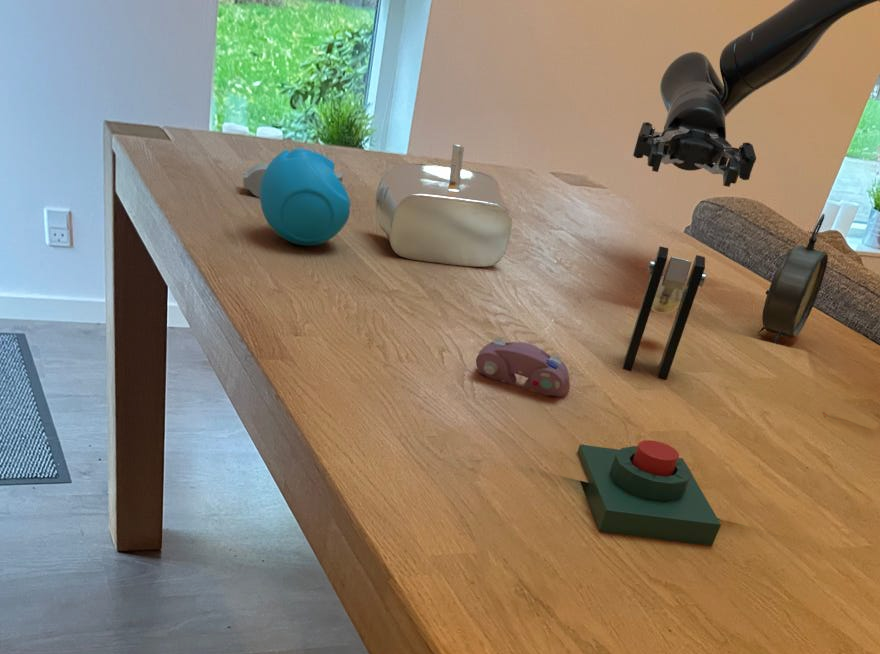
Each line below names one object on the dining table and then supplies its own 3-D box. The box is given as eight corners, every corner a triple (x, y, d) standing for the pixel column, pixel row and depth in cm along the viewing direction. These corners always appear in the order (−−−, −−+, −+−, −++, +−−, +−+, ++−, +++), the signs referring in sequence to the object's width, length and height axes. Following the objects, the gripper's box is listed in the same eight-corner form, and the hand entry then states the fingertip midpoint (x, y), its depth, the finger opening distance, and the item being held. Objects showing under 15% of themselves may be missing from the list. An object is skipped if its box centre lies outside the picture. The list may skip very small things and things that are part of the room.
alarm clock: (781, 355, 128) (834, 225, 119) (742, 341, 130) (791, 213, 120) (802, 337, 136) (853, 214, 126) (764, 324, 138) (812, 202, 128)
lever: (640, 312, 118) (651, 276, 117) (675, 320, 117) (685, 285, 117) (652, 285, 105) (664, 245, 104) (691, 295, 104) (703, 254, 103)
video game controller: (468, 396, 104) (471, 348, 98) (484, 366, 106) (488, 317, 100) (557, 424, 102) (566, 377, 96) (571, 393, 104) (581, 345, 98)
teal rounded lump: (359, 256, 132) (372, 163, 125) (287, 260, 126) (296, 162, 119) (311, 227, 139) (320, 138, 132) (240, 230, 133) (246, 136, 126)
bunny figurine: (243, 155, 150) (342, 157, 151) (245, 191, 153) (341, 193, 154) (242, 170, 142) (346, 172, 144) (244, 207, 145) (345, 209, 147)
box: (573, 465, 92) (584, 425, 89) (675, 478, 93) (689, 440, 90) (598, 532, 82) (612, 490, 80) (712, 546, 83) (729, 505, 81)
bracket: (607, 352, 118) (643, 233, 110) (681, 371, 117) (723, 252, 109) (598, 387, 108) (637, 260, 100) (679, 408, 107) (724, 281, 99)
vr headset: (490, 248, 146) (513, 142, 137) (508, 273, 137) (534, 162, 129) (370, 232, 142) (386, 122, 133) (381, 257, 133) (399, 141, 125)
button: (627, 455, 86) (633, 437, 85) (666, 461, 87) (673, 443, 86) (637, 475, 84) (643, 456, 83) (677, 480, 84) (684, 462, 83)
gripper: (648, 86, 125) (643, 124, 113) (760, 108, 124) (766, 149, 112) (631, 148, 130) (624, 190, 119) (739, 170, 129) (742, 215, 117)
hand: (693, 170), depth 115 cm, fingers open, 8 cm apart
